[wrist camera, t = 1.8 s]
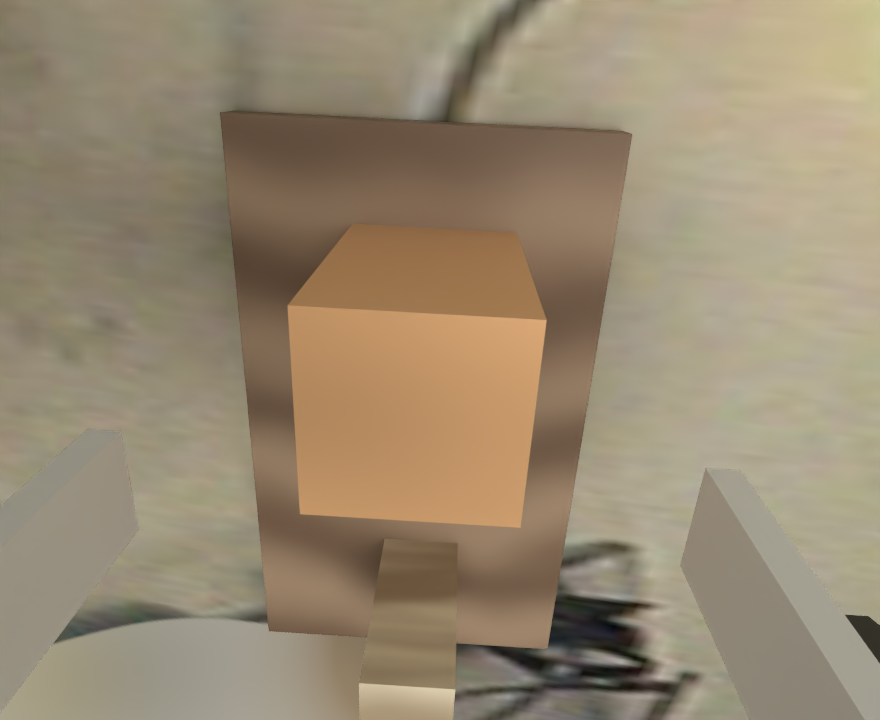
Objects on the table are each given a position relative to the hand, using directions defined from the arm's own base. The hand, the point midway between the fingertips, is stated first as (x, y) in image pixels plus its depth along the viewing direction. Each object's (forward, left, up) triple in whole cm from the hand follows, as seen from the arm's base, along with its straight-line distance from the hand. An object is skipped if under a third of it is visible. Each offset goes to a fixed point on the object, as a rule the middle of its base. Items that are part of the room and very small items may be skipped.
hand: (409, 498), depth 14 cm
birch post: (+14, 0, -12) cm, 18 cm away
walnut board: (+6, -1, -14) cm, 15 cm away
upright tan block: (0, 0, -12) cm, 12 cm away
